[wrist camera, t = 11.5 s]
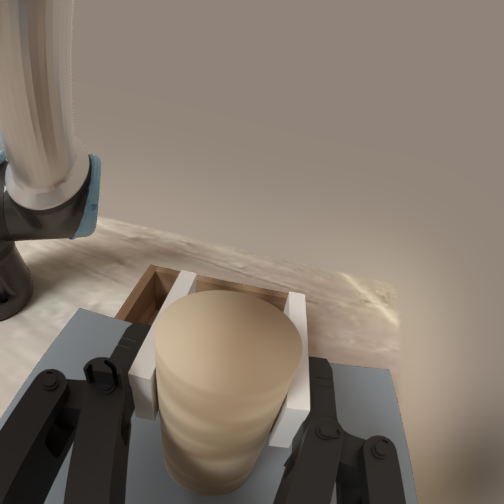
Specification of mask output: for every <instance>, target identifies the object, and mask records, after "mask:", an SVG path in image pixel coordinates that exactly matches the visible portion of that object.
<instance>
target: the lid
mask: <svg viewBox="0 0 504 504" xmlns="http://www.w3.org/2000/svg"><path fill="white" fill-rule="evenodd" d="M132 324H133V323H129V322H126V321H122V320H119V319H115V318H112V317H108V316H105V315H101V314H98V313H95V312H91V311H88V310H85V309H82V308H79V309H78V311H77V312H76V313H75V314H74V316H73V317H72V318H71V319H70V321H69V322H68V323H67V325H66V326H65V327H64V328H63V330H62V331H61V332H60V334H59V335H58V336H57V338H56V339H55V340H54V342H53V343H52V344H51V346H50V347H49V348H48V350H47V351H46V353H45V354H44V355H43V357H42V358H41V359H40V361H39V362H38V364H37V365H36V366H35V368H34V369H33V371H32V372H31V374H30V375H29V377H28V378H27V379H26V381H25V382H24V384H23V385H22V387H21V388H20V390H19V391H18V393H17V394H16V396H15V397H14V399H13V400H12V402H11V403H10V405H9V406H8V408H7V410H6V411H5V413H4V414H3V416H2V418H1V419H0V430H1V428H2V427H3V425H4V424H5V422H6V421H7V419H8V417H9V416H10V414H11V413H12V411H13V410H14V408H15V407H16V405H17V404H18V402H19V401H20V399H21V398H22V396H23V395H24V393H25V392H26V390H27V389H28V387H29V386H30V385H31V383H32V382H33V380H34V379H35V377H36V376H37V375H38V374H39V373H40V372H42V371H44V370H46V369H56V370H59V371H60V372H62V373H63V374H64V375H65V377H66V379H74V380H86V377H85V374H84V370H83V368H84V366H85V364H86V363H87V362H88V361H90V360H91V359H94V358H97V357H107V358H110V356H111V354H112V353H113V351H114V349H115V347H116V346H117V345H118V342H119V340H120V339H121V338H122V335H123V334H124V332H125V330H126V328H127V327H129V326H130V325H132ZM154 338H155V361H156V378H157V393H158V405H159V411H158V413H157V416H156V419H155V422H153V421H149V420H146V419H142V418H139V417H136V415H135V410H134V412H133V415H132V417H131V425H132V427H131V436H130V445H129V455H128V467H127V480H126V495H125V504H273V502H274V499H275V496H276V493H277V490H278V488H279V485H280V482H281V479H282V476H283V473H284V470H285V466H283V465H284V464H285V462H286V461H287V459H288V458H289V456H290V454H291V453H292V443H291V445H290V447H289V448H284V447H275V446H269V439H270V431H271V428H272V426H273V424H274V422H275V419H276V417H277V415H278V413H279V410H280V408H281V406H282V403H283V401H284V399H285V396H286V394H287V392H288V389H289V387H290V385H291V382H292V380H293V377H294V375H295V373H296V370H297V368H298V365H299V363H300V360H301V356H302V340H301V337H300V334H299V332H298V330H297V328H296V326H295V325H294V323H293V322H292V321H291V320H290V319H289V317H288V316H286V315H285V314H284V313H283V312H282V311H281V310H279V309H278V308H277V307H275V306H273V305H272V304H270V303H268V302H266V301H264V300H262V299H260V298H257V297H254V296H251V295H248V294H244V293H240V292H234V291H225V290H210V291H202V292H196V293H192V294H189V295H186V296H184V297H181V298H179V299H177V300H176V301H174V302H172V303H171V304H170V305H169V306H167V307H166V308H165V309H164V311H163V312H162V313H161V315H160V316H159V318H158V320H157V322H156V326H155V331H154ZM329 364H330V366H331V367H332V371H333V381H334V391H335V401H336V412H337V419H338V422H339V424H340V425H341V426H342V428H343V430H345V431H346V432H347V433H349V434H351V435H354V436H356V437H359V438H362V439H365V440H367V439H369V438H370V437H372V436H376V435H380V436H385V437H386V438H388V439H390V440H391V441H392V442H393V443H394V445H395V447H396V450H397V455H398V460H399V465H400V471H401V476H402V482H403V488H404V494H405V500H406V504H418V503H417V495H416V489H415V483H414V478H413V472H412V467H411V461H410V456H409V451H408V446H407V441H406V437H405V432H404V428H403V423H402V419H401V415H400V410H399V406H398V402H397V398H396V394H395V390H394V386H393V382H392V379H391V375H390V371H389V369H379V368H368V367H359V366H350V365H342V364H334V363H329ZM73 443H74V442H73ZM72 448H73V444H72V446H71V448H70V450H69V452H68V454H67V456H66V458H65V460H64V462H63V464H62V466H61V468H60V470H59V472H58V474H57V476H56V479H55V481H54V483H53V485H52V487H51V489H50V491H49V494H48V496H47V498H46V500H45V502H44V504H63V503H64V495H65V488H66V482H67V476H68V470H69V464H70V459H71V453H72ZM330 504H337V499H336V482H335V485H334V490H333V494H332V498H331V503H330Z"/></svg>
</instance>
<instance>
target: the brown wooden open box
mask: <svg viewBox="0 0 504 504" xmlns="http://www.w3.org/2000/svg"><path fill="white" fill-rule="evenodd" d="M180 272H181V271H176V270H172V269H167V268H163V267H158V266H154V265H150V266H149V268H148V269H147V270H146V272H145V273H144V275H143V276H142V278H141V279H140V281H139V282H138V283H137V285H136V286H135V288H134V289H133V291H132V292H131V294H130V295H129V297H128V298H127V300H126V301H125V303H124V304H123V306H122V307H121V309H120V310H119V312H118V313H117V315H116V316H115V319H119V320H122V321H126V322H129V323H134V322H136V321H137V322H140V323H144V324H148V325H152V324H153V323H154V321H155V319H156V317H157V315H158V313H159V311H160V309H161V307H162V305H163V303H164V302H165V300H166V298H167V296H168V294H169V292H170V290H171V288H172V287H173V285H174V283H175V281H176V279H177V277H178V275H179V274H180ZM210 290H225V291H234V292H240V293H244V294H248V295H251V296H254V297H257V298H260V299H262V300H264V301H266V302H268V303H270V304H272V305H273V306H275V307H277V308H278V309H279V310H281V311H282V312H283V311H284V308H285V304H286V301H287V297H288V294H289V293H284V292H279V291H274V290H268V289H263V288H258V287H253V286H248V285H243V284H238V283H233V282H228V281H223V280H219V279H214V278H209V277H204V276H199V275H197V278H196V289H195V293H196V292H202V291H210Z"/></svg>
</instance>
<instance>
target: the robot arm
mask: <svg viewBox="0 0 504 504" xmlns="http://www.w3.org/2000/svg"><path fill="white" fill-rule="evenodd" d="M73 9H74V0H0V141H1V144H2V147H3V150H4V151H3V150H0V321H1V320H3V319H6V318H8V317H10V316H12V315H14V314H15V313H17V312H18V311H19V310H21V309H22V308H23V307H24V306H25V305H26V304H27V302H28V301H29V299H30V298H31V295H32V293H33V282H32V278H31V274H30V271H29V269H28V267H27V266H26V264H25V262H24V261H23V259H22V257H21V255H20V253H19V251H18V250H17V248H16V246H15V241H22V240H42V239H63V238H69V239H75V238H78V237H87V236H90V235H91V234H92V233H93V232H94V231H95V228H96V223H97V214H98V200H99V189H100V175H101V161H100V158H99V157H98V156H93V155H92V154H88V152H87V150H86V148H85V146H84V145H83V143H82V142H81V141H80V140H79V139H77V138H76V137H75V132H74V120H73V103H72V75H71V74H72V66H71V64H72V60H71V59H72V58H71V57H72V53H71V52H72V24H73ZM6 158H7V160H8V161H6ZM196 278H197V273H194V272H189V271H184V270H181V272H180V274H179V275H178V277H177V279H176V281H175V283H174V285H173V287H172V288H171V290H170V292H169V294H168V296H167V298H166V300H165V302H164V303H163V305H162V307H161V309H160V311H159V313H158V315H157V317H156V319H155V321H154V323H153V324H152V325H148V324H144V323H140V322H137V321H136V322H134V323H133V324H132V325H130V326H129V327H127V328H126V330H125V332H124V334H123V335H122V338H121V339H120V340H119V342H118V345H117V346H116V347H115V349H114V351H113V353H112V354H111V356H110V358H107V357H97V358H94V359H91V360H90V361H88V362H87V363H86V364H85V366H84V368H83V370H84V374H85V377H86V380H74V379H66V377H65V375H64V374H63V373H62V372H60V371H59V370H56V369H46V370H44V371H42V372H40V373H39V374H38V375H37V376H36V377H35V379H34V380H33V382H32V383H31V385H30V386H29V387H28V389H27V390H26V392H25V393H24V395H23V396H22V398H21V399H20V401H19V402H18V404H17V405H16V407H15V408H14V410H13V411H12V413H11V414H10V416H9V417H8V419H7V421H6V422H5V424H4V425H3V427H2V428H1V430H0V504H44V502H45V500H46V498H47V496H48V494H49V491H50V489H51V487H52V485H53V483H54V481H55V479H56V476H57V474H58V472H59V470H60V468H61V466H62V464H63V462H64V460H65V458H66V456H67V454H68V452H69V450H70V448H71V446H72V444H73V448H72V453H71V459H70V464H69V470H68V476H67V482H66V488H65V495H64V503H63V504H125V495H126V480H127V467H128V455H129V445H130V436H131V427H132V425H131V417H132V415H133V412H134V410H135V415H136V417H139V418H142V419H146V420H149V421H153V422H155V419H156V416H157V413H158V411H159V405H158V393H157V378H156V361H155V338H154V331H155V326H156V322H157V320H158V318H159V316H160V315H161V313H162V312H163V311H164V309H165V308H166V307H167V306H169V305H170V304H171V303H172V302H174V301H176V300H177V299H179V298H181V297H184V296H186V295H189V294H192V293H195V289H196ZM283 313H284V314H285V315H286V316H288V317H289V319H290V320H291V321H292V322H293V323H294V325H295V326H296V328H297V330H298V332H299V334H300V337H301V340H302V356H301V360H300V363H299V365H298V368H297V370H296V373H295V375H294V377H293V380H292V382H291V385H290V387H289V389H288V392H287V394H286V396H285V399H284V401H283V403H282V406H281V408H280V410H279V413H278V415H277V417H276V419H275V422H274V424H273V426H272V428H271V431H270V439H269V446H275V447H284V448H289V447H290V445H291V443H292V453H291V454H290V456H289V458H288V459H287V461H286V462H285V464H284V465H283V466H285V470H284V473H283V476H282V479H281V482H280V485H279V488H278V490H277V493H276V496H275V499H274V502H273V504H330V503H331V498H332V494H333V490H334V485H335V482H336V499H337V504H406V500H405V494H404V488H403V482H402V476H401V471H400V465H399V460H398V455H397V450H396V447H395V445H394V443H393V442H392V441H391V440H390V439H388V438H386V437H385V436H380V435H376V436H372V437H370V438H369V439H367V440H365V439H362V438H359V437H356V436H354V435H351V434H349V433H347V432H346V431H345V430H343V428H342V426H341V425H340V424H339V422H338V419H337V412H336V401H335V391H334V381H333V371H332V367H331V366H330V364H329V362H328V361H327V359H323V358H316V357H309V356H308V338H307V319H306V303H305V294H300V293H295V292H290V291H289V294H288V297H287V301H286V304H285V308H284V311H283ZM73 442H74V443H73Z"/></svg>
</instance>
